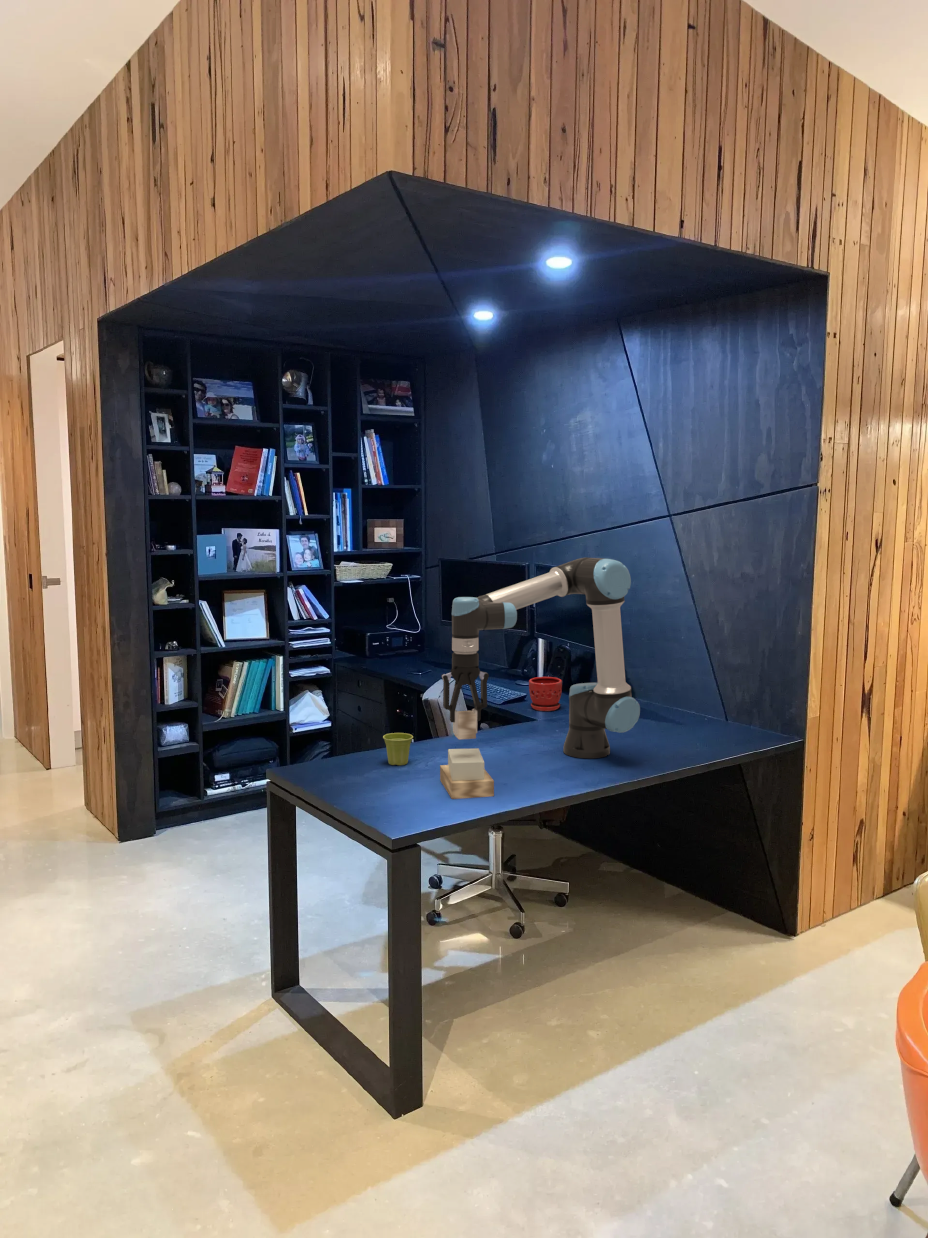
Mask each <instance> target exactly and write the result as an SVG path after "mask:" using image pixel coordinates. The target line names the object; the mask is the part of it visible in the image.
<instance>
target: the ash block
mask: <svg viewBox="0 0 928 1238" xmlns="http://www.w3.org/2000/svg"><path fill="white" fill-rule="evenodd" d="M457 711H458V710H457ZM453 734H454V733H453ZM454 736H455V738H456V739H458V740H471V739H472V740H475V739H477V733H476V714H475V713H474V712H472V710H459V711H458V734H454Z"/></svg>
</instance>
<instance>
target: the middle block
mask: <svg viewBox="0 0 928 1238" xmlns="http://www.w3.org/2000/svg"><path fill="white" fill-rule="evenodd" d="M447 765H448V767H449V771H450V774H451V778H452V781H457V780H484V769H485V760H484V758H483V756H482V753H481V751H480V748H448V749H447Z"/></svg>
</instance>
